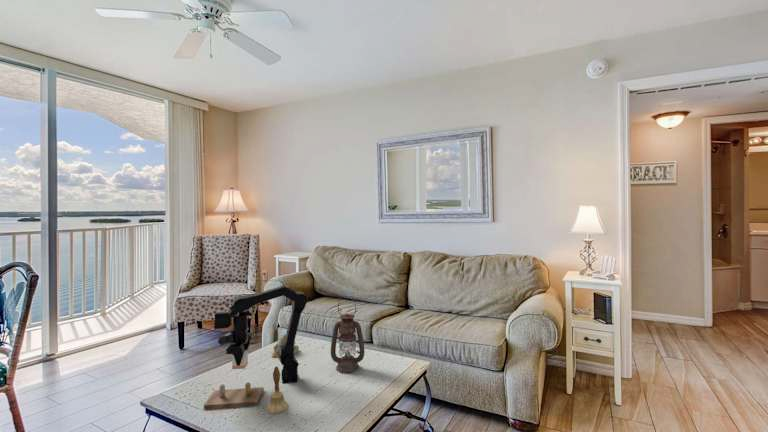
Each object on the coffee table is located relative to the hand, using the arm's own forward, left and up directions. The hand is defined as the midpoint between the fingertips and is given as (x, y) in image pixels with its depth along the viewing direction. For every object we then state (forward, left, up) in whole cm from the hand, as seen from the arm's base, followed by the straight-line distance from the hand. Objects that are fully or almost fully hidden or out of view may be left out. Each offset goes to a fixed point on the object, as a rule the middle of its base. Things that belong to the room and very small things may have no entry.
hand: (240, 362), depth 157 cm
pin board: (0, +9, -11) cm, 14 cm away
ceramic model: (-13, -39, -12) cm, 42 cm away
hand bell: (-18, +18, -12) cm, 28 cm away
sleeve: (0, 0, -2) cm, 2 cm away
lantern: (-46, -14, -12) cm, 50 cm away
